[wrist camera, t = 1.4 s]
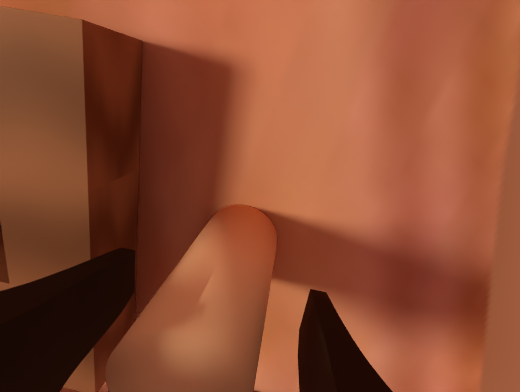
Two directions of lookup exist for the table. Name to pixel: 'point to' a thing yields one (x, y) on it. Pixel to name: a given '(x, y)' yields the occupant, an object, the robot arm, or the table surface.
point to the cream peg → (204, 313)
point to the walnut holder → (68, 155)
